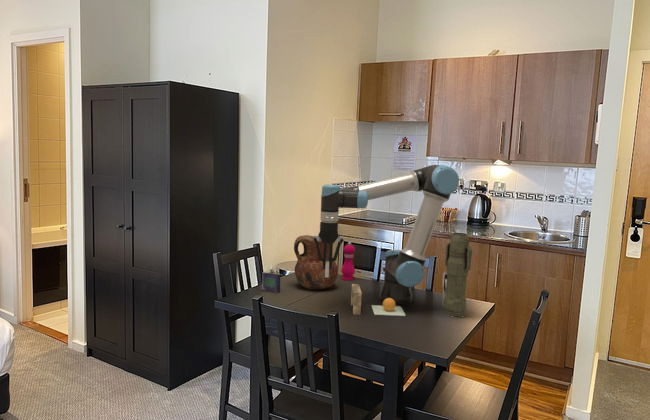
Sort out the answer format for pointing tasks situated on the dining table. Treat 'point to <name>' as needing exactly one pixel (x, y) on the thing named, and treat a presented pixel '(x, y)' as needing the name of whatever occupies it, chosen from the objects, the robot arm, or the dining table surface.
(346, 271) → the pepper mill
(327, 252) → the jug
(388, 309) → the ball
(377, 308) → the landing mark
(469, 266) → the olive brown statue
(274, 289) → the flask
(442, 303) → the beer glass
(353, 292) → the bridge
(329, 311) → the dining table surface
